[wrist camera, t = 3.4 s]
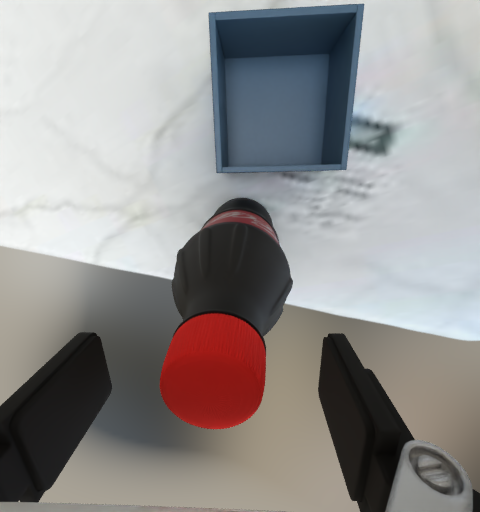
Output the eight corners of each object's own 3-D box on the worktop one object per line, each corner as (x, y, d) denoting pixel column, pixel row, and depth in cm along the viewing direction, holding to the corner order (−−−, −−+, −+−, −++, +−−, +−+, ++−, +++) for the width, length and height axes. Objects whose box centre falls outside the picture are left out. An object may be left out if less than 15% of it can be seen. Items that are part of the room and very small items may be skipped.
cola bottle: (245, 183, 35) (215, 229, 7) (282, 228, 37) (384, 415, 8) (202, 222, 37) (39, 383, 9) (239, 262, 39) (205, 506, 10)
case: (333, 49, 30) (364, 3, 21) (323, 170, 34) (346, 169, 26) (220, 55, 30) (208, 12, 22) (224, 173, 35) (216, 173, 27)
